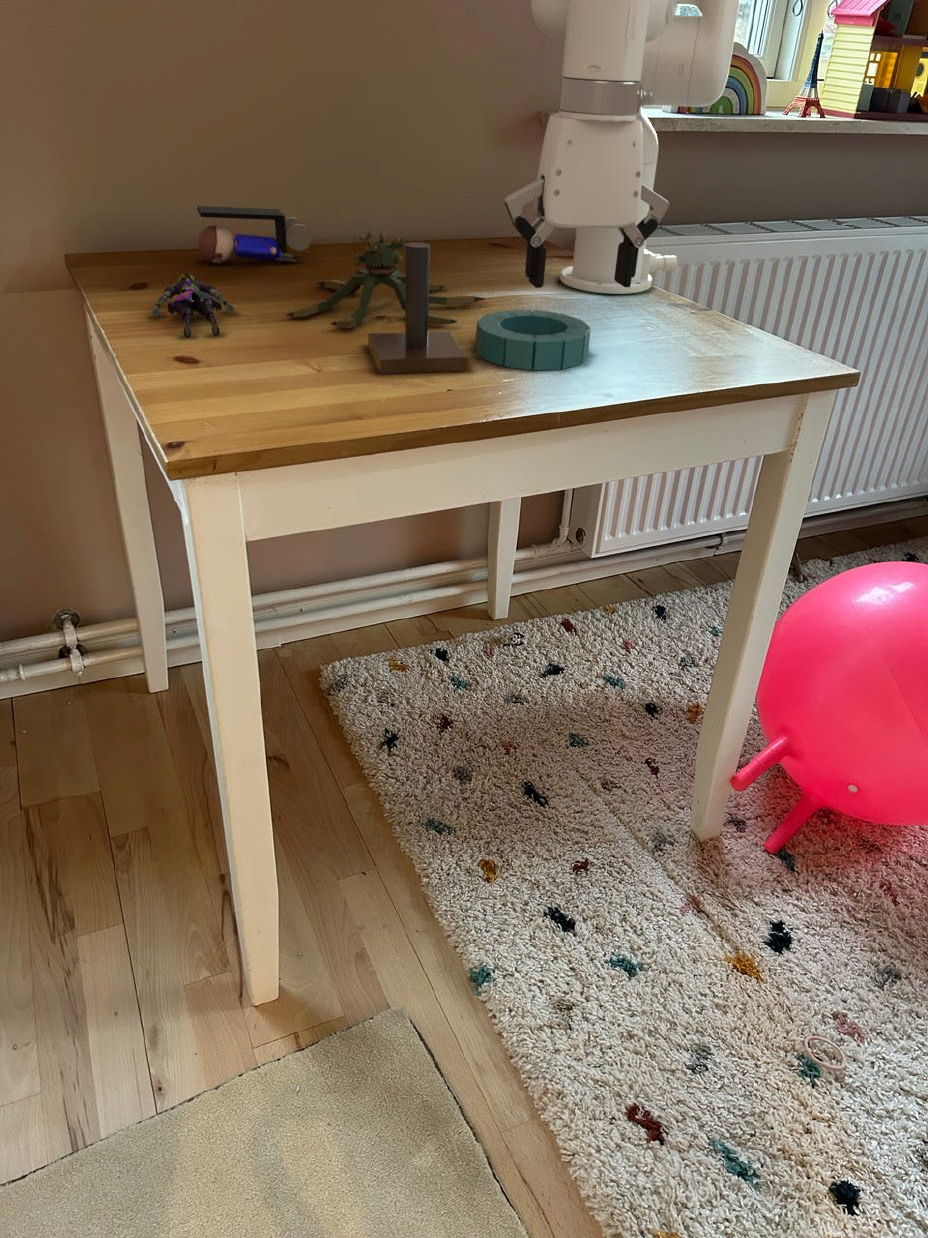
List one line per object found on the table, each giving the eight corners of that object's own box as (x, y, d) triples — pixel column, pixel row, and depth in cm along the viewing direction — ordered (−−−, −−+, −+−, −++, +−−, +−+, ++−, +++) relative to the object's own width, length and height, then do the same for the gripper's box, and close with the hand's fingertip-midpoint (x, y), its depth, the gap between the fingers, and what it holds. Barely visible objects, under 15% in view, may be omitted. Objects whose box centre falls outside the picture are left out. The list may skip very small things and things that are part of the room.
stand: (449, 344, 105) (452, 235, 99) (467, 371, 98) (472, 254, 92) (368, 347, 104) (366, 235, 97) (380, 374, 96) (379, 255, 90)
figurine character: (301, 264, 140) (195, 255, 135) (304, 209, 136) (195, 198, 131) (310, 275, 135) (200, 266, 129) (313, 218, 131) (201, 207, 125)
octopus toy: (285, 332, 107) (280, 249, 102) (283, 286, 124) (279, 213, 119) (503, 330, 111) (508, 251, 106) (473, 286, 127) (476, 216, 123)
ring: (566, 334, 110) (569, 308, 109) (601, 368, 101) (604, 339, 99) (466, 337, 108) (467, 310, 106) (491, 372, 98) (493, 343, 97)
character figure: (245, 337, 106) (226, 294, 118) (242, 303, 104) (223, 263, 116) (158, 342, 103) (148, 297, 115) (153, 307, 101) (143, 266, 113)
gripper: (666, 101, 97) (642, 276, 106) (502, 95, 93) (491, 276, 102) (697, 107, 91) (669, 292, 100) (523, 100, 87) (509, 293, 96)
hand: (579, 284), depth 101 cm, fingers open, 9 cm apart
